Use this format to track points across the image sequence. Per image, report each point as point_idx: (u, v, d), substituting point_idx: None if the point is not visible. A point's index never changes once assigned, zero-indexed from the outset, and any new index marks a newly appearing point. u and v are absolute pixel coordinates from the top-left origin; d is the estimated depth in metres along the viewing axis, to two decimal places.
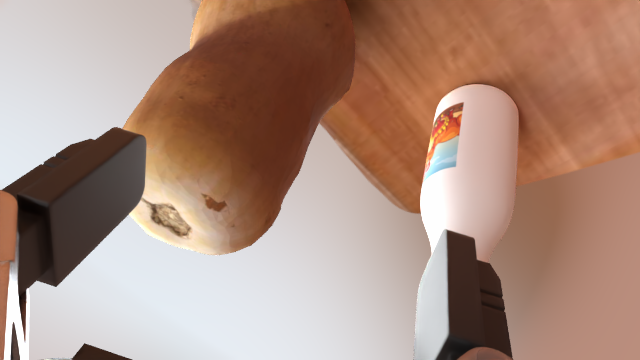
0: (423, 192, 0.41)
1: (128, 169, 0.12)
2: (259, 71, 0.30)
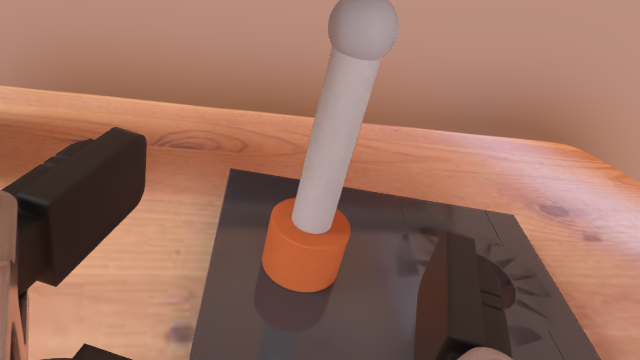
0: None
1: (128, 169, 0.12)
2: None
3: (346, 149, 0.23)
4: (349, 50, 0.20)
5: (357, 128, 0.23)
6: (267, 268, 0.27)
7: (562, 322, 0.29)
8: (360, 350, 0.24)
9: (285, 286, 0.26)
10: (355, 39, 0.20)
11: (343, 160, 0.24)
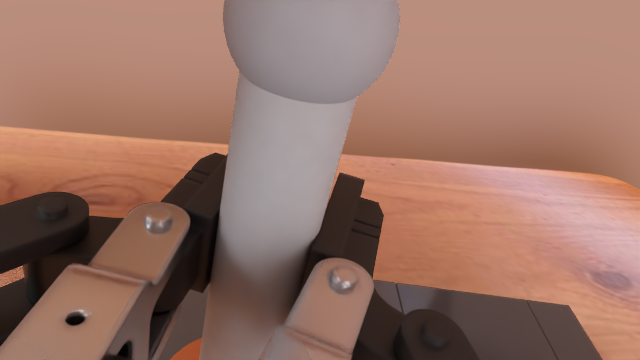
0: None
1: None
2: None
3: (286, 289, 0.11)
4: (272, 80, 0.08)
5: (308, 247, 0.10)
6: None
7: None
8: None
9: None
10: (283, 52, 0.07)
11: (281, 309, 0.11)
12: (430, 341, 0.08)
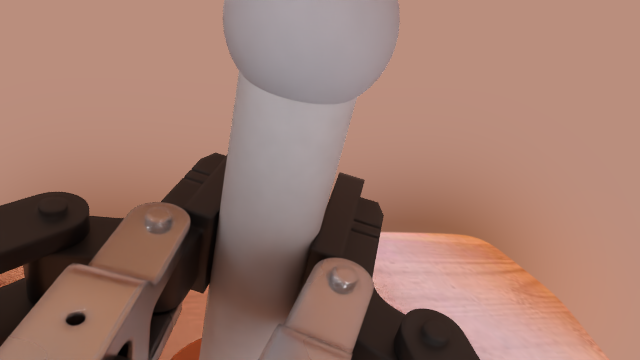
0: None
1: None
2: None
3: (286, 289, 0.11)
4: (272, 80, 0.08)
5: (309, 247, 0.10)
6: None
7: None
8: None
9: None
10: (283, 52, 0.07)
11: (281, 309, 0.11)
12: (430, 341, 0.08)
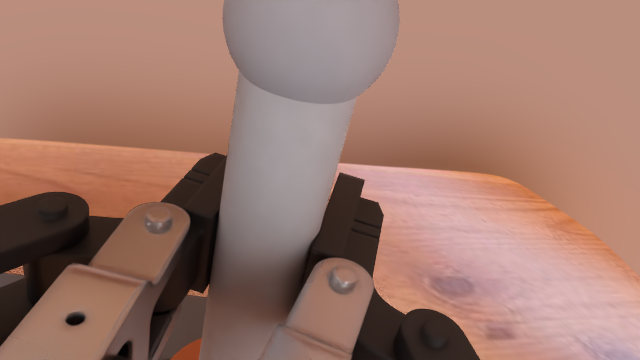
0: None
1: None
2: None
3: (286, 289, 0.11)
4: (272, 80, 0.08)
5: (309, 246, 0.10)
6: None
7: None
8: None
9: None
10: (283, 52, 0.07)
11: (281, 309, 0.11)
12: (430, 341, 0.08)
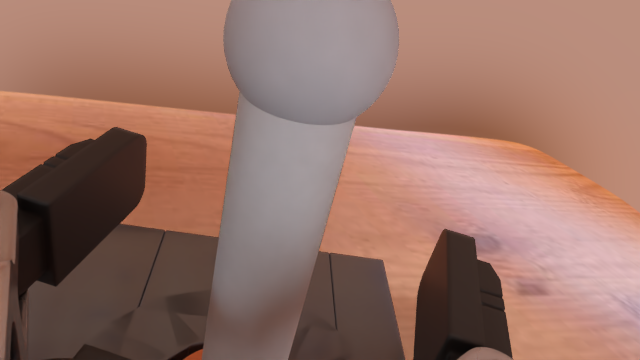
0: None
1: (128, 169, 0.12)
2: None
3: (286, 305, 0.11)
4: (272, 102, 0.08)
5: (309, 263, 0.10)
6: None
7: None
8: None
9: None
10: (283, 76, 0.07)
11: (282, 324, 0.11)
12: None
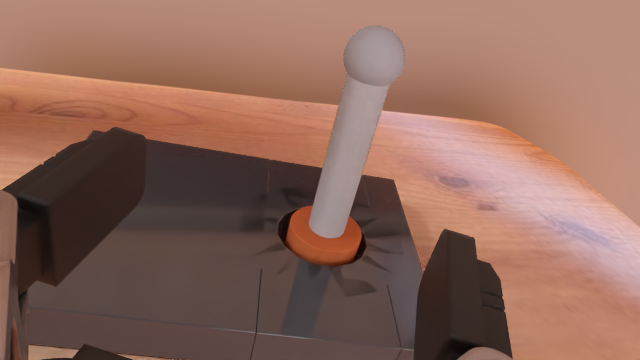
0: None
1: (128, 169, 0.12)
2: None
3: (359, 163, 0.26)
4: (362, 78, 0.24)
5: (369, 144, 0.26)
6: None
7: (405, 277, 0.28)
8: (165, 296, 0.23)
9: None
10: (368, 69, 0.23)
11: (356, 172, 0.27)
12: None
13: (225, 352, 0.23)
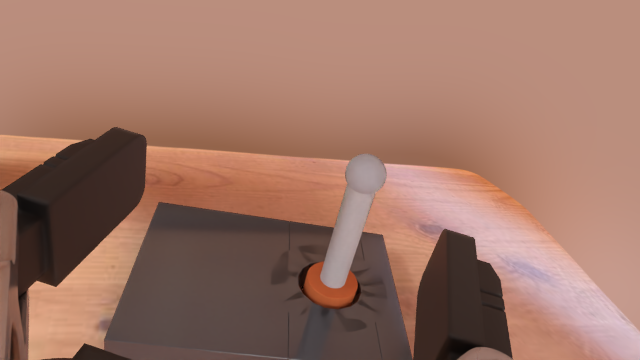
0: None
1: (128, 169, 0.12)
2: None
3: (355, 240, 0.38)
4: (358, 190, 0.36)
5: (362, 228, 0.38)
6: None
7: (388, 316, 0.40)
8: (227, 334, 0.35)
9: None
10: (361, 185, 0.35)
11: (353, 246, 0.39)
12: None
13: None
